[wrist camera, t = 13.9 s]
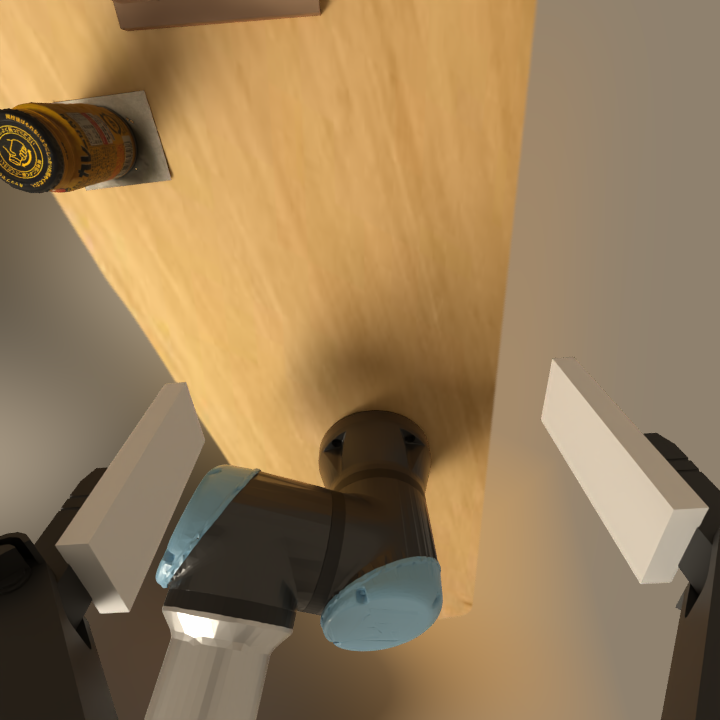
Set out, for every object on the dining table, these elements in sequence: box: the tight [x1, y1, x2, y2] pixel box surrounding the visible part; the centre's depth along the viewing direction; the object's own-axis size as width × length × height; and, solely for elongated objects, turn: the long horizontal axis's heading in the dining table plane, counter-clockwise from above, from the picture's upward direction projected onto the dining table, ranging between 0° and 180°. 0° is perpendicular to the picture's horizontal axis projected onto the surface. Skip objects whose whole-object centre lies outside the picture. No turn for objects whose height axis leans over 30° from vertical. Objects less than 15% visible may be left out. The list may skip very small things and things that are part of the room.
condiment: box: [0, 91, 171, 193], centre depth 34 cm, size 7×8×12 cm
